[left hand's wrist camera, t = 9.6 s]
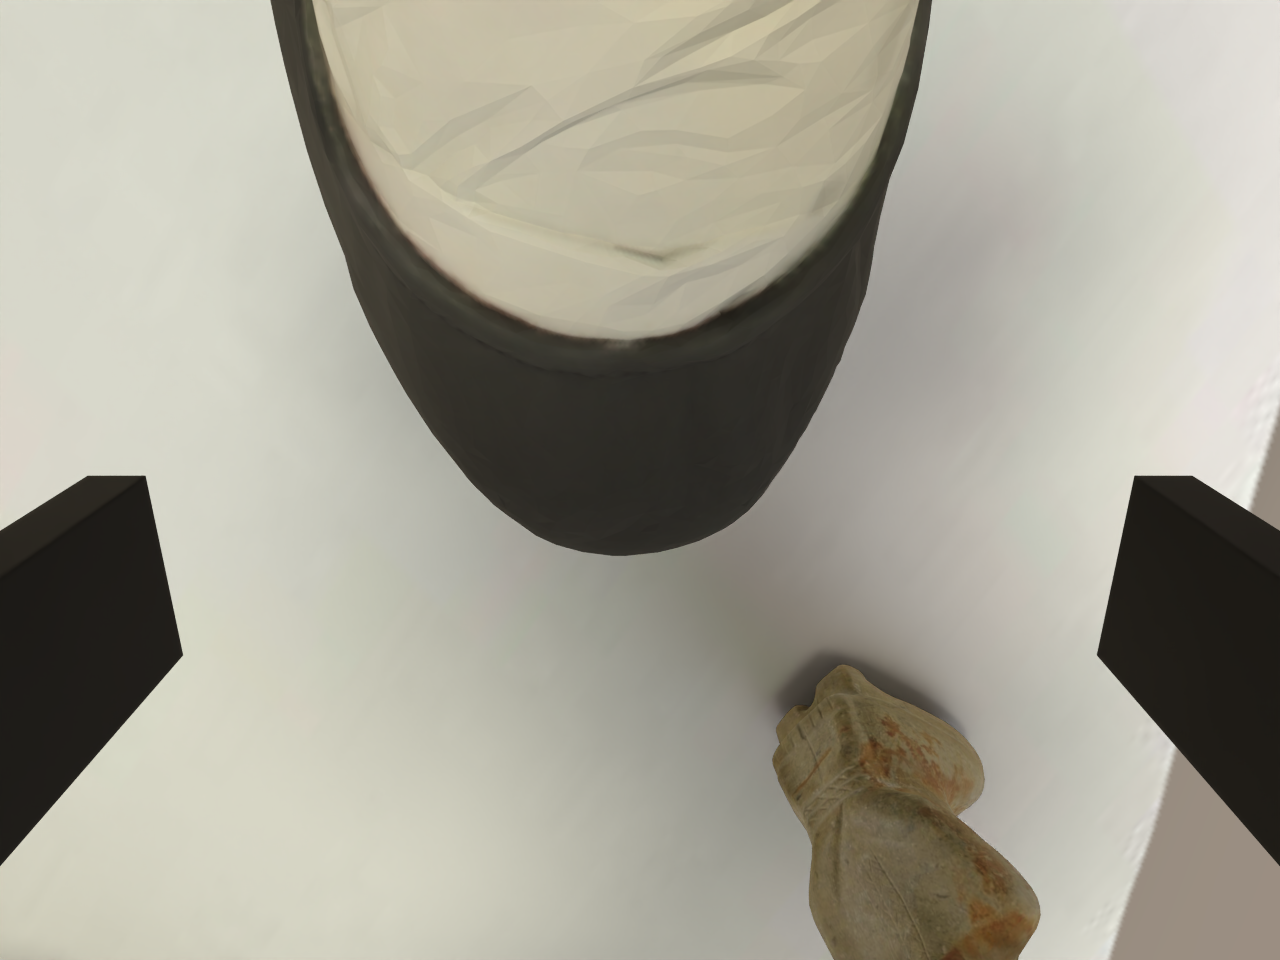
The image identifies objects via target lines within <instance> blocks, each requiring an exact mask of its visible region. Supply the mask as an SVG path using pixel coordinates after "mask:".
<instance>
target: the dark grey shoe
mask: <svg viewBox="0 0 1280 960" xmlns="http://www.w3.org/2000/svg"><path fill="white" fill-rule="evenodd" d="M931 4H932V0H271V5H272V10H273V15H274V20H275V25H276V29H277V34H278V38H279V43H280V47H281V52H282V56H283V61H284V65H285V69H286V73H287V77H288V81H289V85H290V89H291V93H292V96H293V100H294V104H295V108H296V111H297V115H298V119H299V123H300V126H301V130H302V134H303V137H304V141H305V145H306V148H307V152H308V155H309V158H310V161H311V164H312V167H313V170H314V174H315V177H316V180H317V183H318V186H319V189H320V192H321V195H322V198H323V201H324V204H325V207H326V209H327V212H328V214H329V217H330V219H331V222H332V225H333V227H334V230H335V232H336V235H337V237H338V240H339V242H340V245H341V247H342V250H343V252H344V255H345V258H346V262H347V266H348V269H349V273H350V277H351V281H352V284H353V288H354V291H355V293H356V295H357V298H358V300H359V302H360V305H361V307H362V309H363V311H364V314H365V316H366V318H367V321H368V323H369V325H370V327H371V329H372V331H373V333H374V335H375V337H376V339H377V341H378V343H379V345H380V347H381V349H382V350H383V352H384V354H385V356H386V358H387V360H388V362H389V363H390V365H391V367H392V369H393V371H394V373H395V374H396V376H397V378H398V380H399V381H400V383H401V385H402V387H403V388H404V390H405V392H406V394H407V395H408V397H409V398H410V400H411V401H412V403H413V404H414V406H415V407H416V409H417V411H418V412H419V414H420V415H421V417H422V418H423V420H424V421H425V423H426V424H427V426H428V427H429V429H430V430H431V432H432V433H433V435H434V436H435V437H436V439H437V440H438V441H439V442H440V444H441V445H442V446H443V447H444V449H445V450H446V451H447V452H448V454H449V455H450V456H451V457H452V459H453V460H454V461H455V463H456V464H457V465H458V466H459V468H460V469H461V470H462V471H463V473H464V474H465V475H466V477H467V478H468V479H469V480H470V481H471V482H472V484H473V485H474V486H475V487H476V488H477V489H478V490H479V491H480V492H481V493H483V494H484V495H485V496H486V497H487V498H488V499H489V500H490V501H491V502H492V503H493V504H494V505H495V506H496V507H498V508H499V509H500V510H501V511H503V512H504V513H505V514H507V515H508V516H509V517H511V518H512V519H514V520H515V521H517V522H518V523H519V524H521V525H522V526H524V527H525V528H526V529H528V530H529V531H531V532H532V533H533V534H535V535H536V536H538V537H541V538H543V539H545V540H547V541H549V542H551V543H554V544H556V545H559V546H563V547H567V548H570V549H574V550H578V551H581V552H587V553H595V554H603V555H611V556H627V555H637V554H646V553H655V552H661V551H665V550H669V549H673V548H677V547H681V546H684V545H687V544H690V543H693V542H697V541H700V540H702V539H704V538H706V537H708V536H710V535H712V534H714V533H716V532H718V531H720V530H722V529H724V528H726V527H727V526H729V525H730V524H732V523H733V522H735V521H736V520H737V519H738V518H740V517H741V516H742V515H743V514H745V513H746V512H747V511H748V510H749V509H750V508H751V507H752V506H753V505H754V504H755V503H756V502H757V500H758V499H759V498H760V497H761V496H762V495H763V493H764V492H765V491H766V489H767V488H768V486H769V485H770V483H771V482H772V480H773V479H774V477H775V476H776V475H777V473H778V472H779V471H780V469H781V468H782V467H783V465H784V464H785V462H786V461H787V459H788V457H789V456H790V454H791V453H792V451H793V450H794V448H795V446H796V444H797V442H798V440H799V439H800V437H801V436H802V434H803V433H804V431H805V430H806V428H807V426H808V424H809V422H810V420H811V418H812V416H813V414H814V413H815V411H816V410H817V407H818V405H819V403H820V401H821V399H822V397H823V395H824V393H825V391H826V389H827V387H828V385H829V383H830V381H831V379H832V377H833V374H834V372H835V369H836V366H837V365H838V363H839V362H840V360H841V357H842V354H843V351H844V348H845V345H846V343H847V341H848V339H849V337H850V334H851V332H852V330H853V327H854V324H855V322H856V319H857V316H858V313H859V310H860V307H861V305H862V302H863V300H864V297H865V295H866V290H867V285H868V281H869V276H870V270H871V264H872V258H873V251H874V244H875V240H876V235H877V230H878V225H879V220H880V215H881V211H882V207H883V203H884V199H885V195H886V191H887V187H888V183H889V179H890V176H891V174H892V171H893V169H894V166H895V164H896V161H897V159H898V156H899V154H900V151H901V149H902V146H903V144H904V140H905V137H906V133H907V129H908V125H909V121H910V118H911V114H912V110H913V106H914V102H915V99H916V95H917V91H918V86H919V81H920V75H921V69H922V63H923V57H924V52H925V46H926V40H927V34H928V28H929V21H930V12H931Z"/></svg>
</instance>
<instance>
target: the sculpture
mask: <svg viewBox="0 0 1280 960" xmlns="http://www.w3.org/2000/svg"><path fill="white" fill-rule="evenodd" d="M776 732H777V736H778V739H779V743H780V745H779V746H778V748H777V749H776V751H775V753H774V756H773V759H772V760H773V766H774V768H775V771H776V773H777V776H778V781H779V783H780V785H781V787H782V789H783V791H784V793H785V795H786V797H787V799H788V801H789V803H790V805H791V807H792V809H793V811H794V813H795V814H796V816H797V817H798V819H799V820H800V821H801V823H802V824H803V826H804V827H805V829H806V830H807V833H808V835H809V838H810V841H811V843H812V862H811V871H810V883H809V906H810V909H811V912H812V916H813V919H814V921H815V923H816V926H817V928H818V930H819V932H820V934H821V936H822V937H823V939H824V941H825V943H826V945H827V947H828V949H829V951H830V953H831V955H832V957H833V959H834V960H1018V957H1019V955H1020V953H1021V952H1022V950H1023V948H1024V947H1025V945H1026V944H1027V942H1028V941H1029V939H1030V938H1031V936H1032V935H1033V933H1034V932H1035V930H1036V928H1037V926H1038V923H1039V919H1040V915H1041V914H1040V906H1039V902H1038V899H1037V896H1036V895H1035V893H1034V891H1033V889H1032V888H1031V886H1030V885H1029V884H1028V883H1027V881H1026V880H1025V879H1024V878H1023V877H1022V875H1021V874H1020V873H1019V872H1018V871H1017V870H1016V869H1015V868H1014V866H1012V865H1011V864H1010V863H1009V862H1008V861H1007V860H1006V859H1005V858H1004V857H1003V856H1002V855H1001V854H1000V853H999V852H998V851H996V850H995V849H994V848H993V847H991V846H990V845H989V844H988V843H986V842H985V841H984V840H983V839H982V838H981V837H979V836H978V835H977V834H976V833H975V832H974V831H973V830H972V829H971V828H970V827H969V826H967V825H966V824H965V823H964V822H962V821H961V820H960V819H959V818H957V817H956V816H958V815H959V814H960V813H961V812H963V811H964V810H966V809H967V808H968V807H970V806H971V805H972V804H973V803H974V802H975V801H977V799H978V798H979V796H980V795H981V793H982V791H983V788H984V780H985V778H984V772H983V766H982V763H981V760H980V758H979V756H978V754H977V753H976V751H975V750H974V748H973V747H972V746H971V745H970V743H969V742H968V741H967V740H966V739H965V738H964V737H963V736H962V735H961V734H960V733H959V732H958V731H957V730H955V729H954V728H953V727H951V726H950V725H949V724H948V723H946V722H944V721H943V720H941V719H939V718H937V717H935V716H934V715H932V714H930V713H928V712H926V711H924V710H922V709H920V708H918V707H916V706H914V705H912V704H910V703H907V702H905V701H902V700H900V699H897V698H895V697H893V696H890V695H888V694H886V693H884V692H883V691H881V690H880V689H878V688H877V687H875V686H874V685H873V684H871V683H870V682H868V681H867V680H866V679H865V677H864V675H863V674H862V673H861V672H860V671H859V670H857V669H855V668H853V667H851V666H849V665H839V666H837V667H836V668H835V669H833V670H832V671H831V672H830V673H829V674H827V675H826V676H825V677H824V678H823V679H822V680H821V681H820V682H819V683H818V684H817V686H816V690H815V697H814V701H813V703H812V705H811V706H810V707H808V706H805V705H796V706H794V707H793V708H792V709H791V710H790V711H789V712H788V713H787V714H786V715H785V716H784V718H783V719H782V720H781V721H780V723H779V724H778V725H777V728H776Z"/></svg>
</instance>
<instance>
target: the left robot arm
mask: <svg viewBox="0 0 1280 960" xmlns="http://www.w3.org/2000/svg"><path fill="white" fill-rule="evenodd" d="M182 656H183V652H182V648H181V643H180V638H179V633H178V629H177V624H176V619H175V614H174V610H173V605H172V600H171V595H170V590H169V586H168V581H167V576H166V571H165V567H164V562H163V557H162V552H161V548H160V543H159V538H158V533H157V528H156V524H155V519H154V514H153V509H152V505H151V500H150V495H149V490H148V486H147V481H146V476H87V477H85V478H83V479H82V480H80V481H79V482H77V483H76V484H74V485H72V486H71V487H69V488H68V489H66V490H64V491H63V492H61V493H60V494H58V495H56V496H55V497H53V498H52V499H50V500H49V501H47V502H45V503H44V504H42V505H41V506H39V507H37V508H36V509H34V510H33V511H31V512H29V513H28V514H26V515H25V516H23V517H21V518H20V519H18V520H17V521H15V522H14V523H12V524H10V525H9V526H7V527H6V528H4V529H2V530H1V531H0V866H1V865H2V863H3V862H4V861H5V860H6V859H7V858H8V856H9V855H10V854H11V853H12V852H13V851H14V850H15V848H16V847H17V846H18V845H19V844H20V843H21V841H22V840H23V839H24V838H25V837H26V836H27V835H28V833H29V832H30V831H31V830H32V829H33V828H34V826H35V825H36V824H37V823H38V822H39V821H40V820H41V818H42V817H43V816H44V815H45V814H46V813H47V812H48V810H49V809H50V808H51V807H52V806H53V805H54V803H55V802H56V801H57V800H58V799H59V798H60V797H61V795H62V794H63V793H64V792H65V791H66V790H67V788H68V787H69V786H70V785H71V784H72V783H73V782H74V780H75V779H76V778H77V777H78V776H79V775H80V773H81V772H82V771H83V770H84V769H85V768H86V767H87V765H88V764H89V763H90V762H91V761H92V760H93V758H94V757H95V756H96V755H97V754H98V753H99V752H100V750H101V749H102V748H103V747H104V746H105V745H106V743H107V742H108V741H109V740H110V739H111V738H112V737H113V735H114V734H115V733H116V732H117V731H118V730H119V729H120V727H121V726H122V725H123V724H124V723H125V722H126V720H127V719H128V718H129V717H130V716H131V715H132V714H133V712H134V711H135V710H136V709H137V708H138V707H139V705H140V704H141V703H142V702H143V701H144V700H145V699H146V697H147V696H148V695H149V694H150V693H151V692H152V690H153V689H154V688H155V687H156V686H157V685H158V684H159V682H160V681H161V680H162V679H163V678H164V677H165V675H166V674H167V673H168V672H169V671H170V670H171V669H172V667H173V666H174V665H175V664H176V663H177V662H178V660H179V659H180V658H181V657H182ZM1097 656H1098V657H1099V658H1100V659H1101V660H1102V662H1103V663H1104V664H1105V665H1106V666H1107V667H1108V669H1109V670H1110V671H1111V672H1112V673H1113V674H1114V675H1115V677H1116V678H1117V679H1118V680H1119V681H1120V682H1121V684H1122V685H1123V686H1124V687H1125V688H1126V689H1127V690H1128V692H1129V693H1130V694H1131V695H1132V696H1133V697H1134V699H1135V700H1136V701H1137V702H1138V703H1139V704H1140V705H1141V707H1142V708H1143V709H1144V710H1145V711H1146V712H1147V714H1148V715H1149V716H1150V717H1151V718H1152V719H1153V720H1154V722H1155V723H1156V724H1157V725H1158V726H1159V727H1160V729H1161V730H1162V731H1163V732H1164V733H1165V734H1166V735H1167V737H1168V738H1169V739H1170V740H1171V741H1172V742H1173V743H1174V745H1175V746H1176V747H1177V748H1178V749H1179V750H1180V751H1181V753H1182V754H1183V755H1184V756H1185V757H1186V758H1187V760H1188V761H1189V762H1190V763H1191V764H1192V765H1193V767H1194V768H1195V769H1196V770H1197V771H1198V772H1199V773H1200V775H1201V776H1202V777H1203V778H1204V779H1205V780H1206V782H1207V783H1208V784H1209V785H1210V786H1211V787H1212V788H1213V790H1214V791H1215V792H1216V793H1217V794H1218V795H1219V796H1220V798H1221V799H1222V800H1223V801H1224V802H1225V803H1226V805H1227V806H1228V807H1229V808H1230V809H1231V810H1232V811H1233V813H1234V814H1235V815H1236V816H1237V817H1238V818H1239V820H1240V821H1241V822H1242V823H1243V824H1244V825H1245V826H1246V828H1247V829H1248V830H1249V831H1250V832H1251V833H1252V835H1253V836H1254V837H1255V838H1256V839H1257V840H1258V841H1259V843H1260V844H1261V845H1262V846H1263V847H1264V848H1265V850H1266V851H1267V852H1268V853H1269V854H1270V855H1271V856H1272V858H1273V859H1274V860H1275V861H1276V862H1277V863H1278V864H1279V866H1280V531H1279V530H1278V529H1276V528H1274V527H1273V526H1271V525H1270V524H1268V523H1266V522H1265V521H1263V520H1262V519H1260V518H1259V517H1257V516H1255V515H1254V514H1252V513H1251V512H1249V511H1247V510H1246V509H1244V508H1243V507H1241V506H1239V505H1238V504H1236V503H1235V502H1233V501H1231V500H1230V499H1228V498H1227V497H1225V496H1224V495H1222V494H1220V493H1219V492H1217V491H1216V490H1214V489H1212V488H1211V487H1209V486H1208V485H1206V484H1204V483H1203V482H1201V481H1200V480H1198V479H1197V478H1195V477H1193V476H1134V481H1133V485H1132V490H1131V495H1130V500H1129V505H1128V509H1127V514H1126V519H1125V524H1124V528H1123V533H1122V538H1121V543H1120V547H1119V552H1118V557H1117V562H1116V567H1115V571H1114V576H1113V581H1112V586H1111V590H1110V595H1109V600H1108V605H1107V610H1106V614H1105V619H1104V624H1103V629H1102V633H1101V638H1100V643H1099V648H1098V652H1097Z"/></svg>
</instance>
